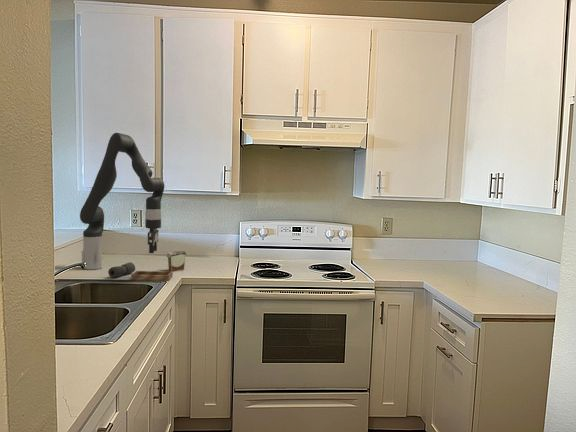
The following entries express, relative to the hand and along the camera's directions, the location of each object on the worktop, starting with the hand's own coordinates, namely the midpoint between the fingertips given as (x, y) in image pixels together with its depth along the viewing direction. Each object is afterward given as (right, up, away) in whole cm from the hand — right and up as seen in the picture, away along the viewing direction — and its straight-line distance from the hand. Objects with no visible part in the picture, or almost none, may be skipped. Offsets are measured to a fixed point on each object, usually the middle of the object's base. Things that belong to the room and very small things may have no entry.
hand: (153, 251), depth 233 cm
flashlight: (-19, -14, -1) cm, 24 cm away
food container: (+5, -12, +22) cm, 26 cm away
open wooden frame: (-1, -13, +1) cm, 13 cm away
